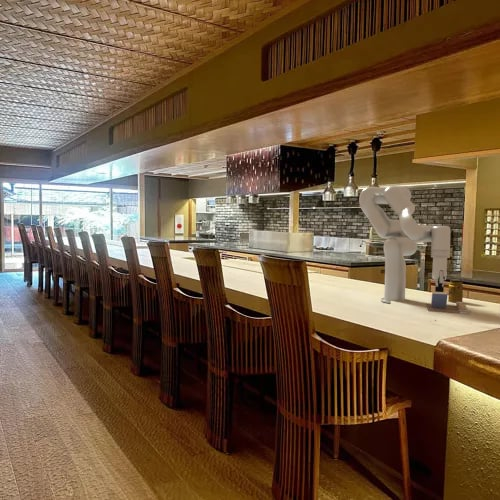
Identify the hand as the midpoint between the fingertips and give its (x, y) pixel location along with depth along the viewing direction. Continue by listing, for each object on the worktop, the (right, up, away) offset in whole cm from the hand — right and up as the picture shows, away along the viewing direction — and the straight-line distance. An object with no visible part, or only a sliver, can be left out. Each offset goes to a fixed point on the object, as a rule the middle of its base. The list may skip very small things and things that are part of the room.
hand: (439, 295), depth 190 cm
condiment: (+14, -6, +13) cm, 21 cm away
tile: (0, -5, 0) cm, 5 cm away
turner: (+7, -5, -5) cm, 11 cm away
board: (+2, -7, -4) cm, 8 cm away
